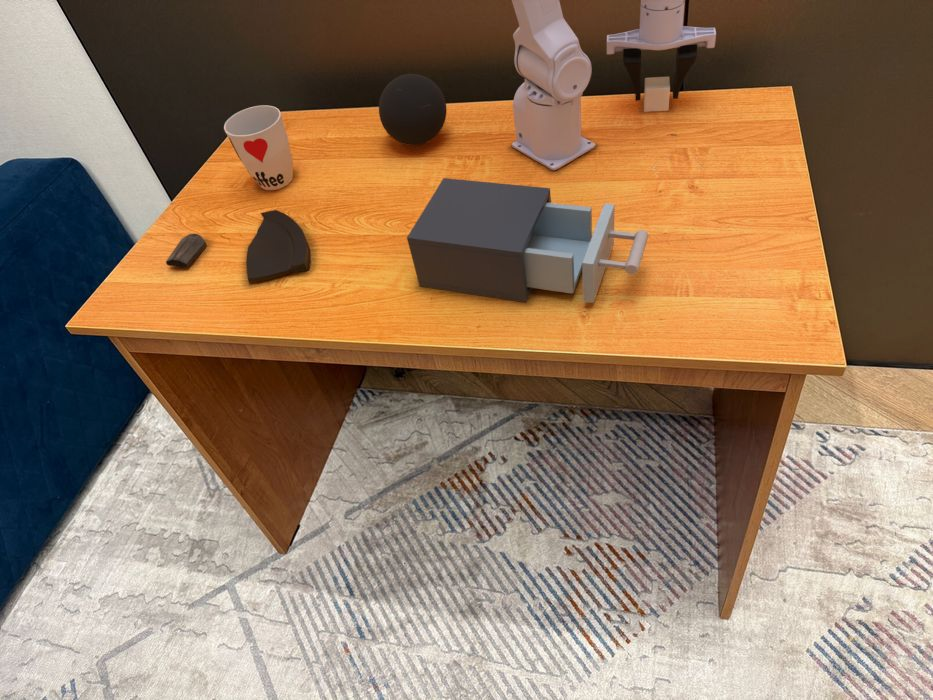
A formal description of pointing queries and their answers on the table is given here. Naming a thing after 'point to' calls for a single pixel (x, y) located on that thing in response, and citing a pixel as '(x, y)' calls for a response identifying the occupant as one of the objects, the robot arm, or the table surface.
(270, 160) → the cup
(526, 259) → the drawer
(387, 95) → the black ball
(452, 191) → the cabinet
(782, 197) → the table surface
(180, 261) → the block
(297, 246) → the dark sector wedge
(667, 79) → the beige cube
